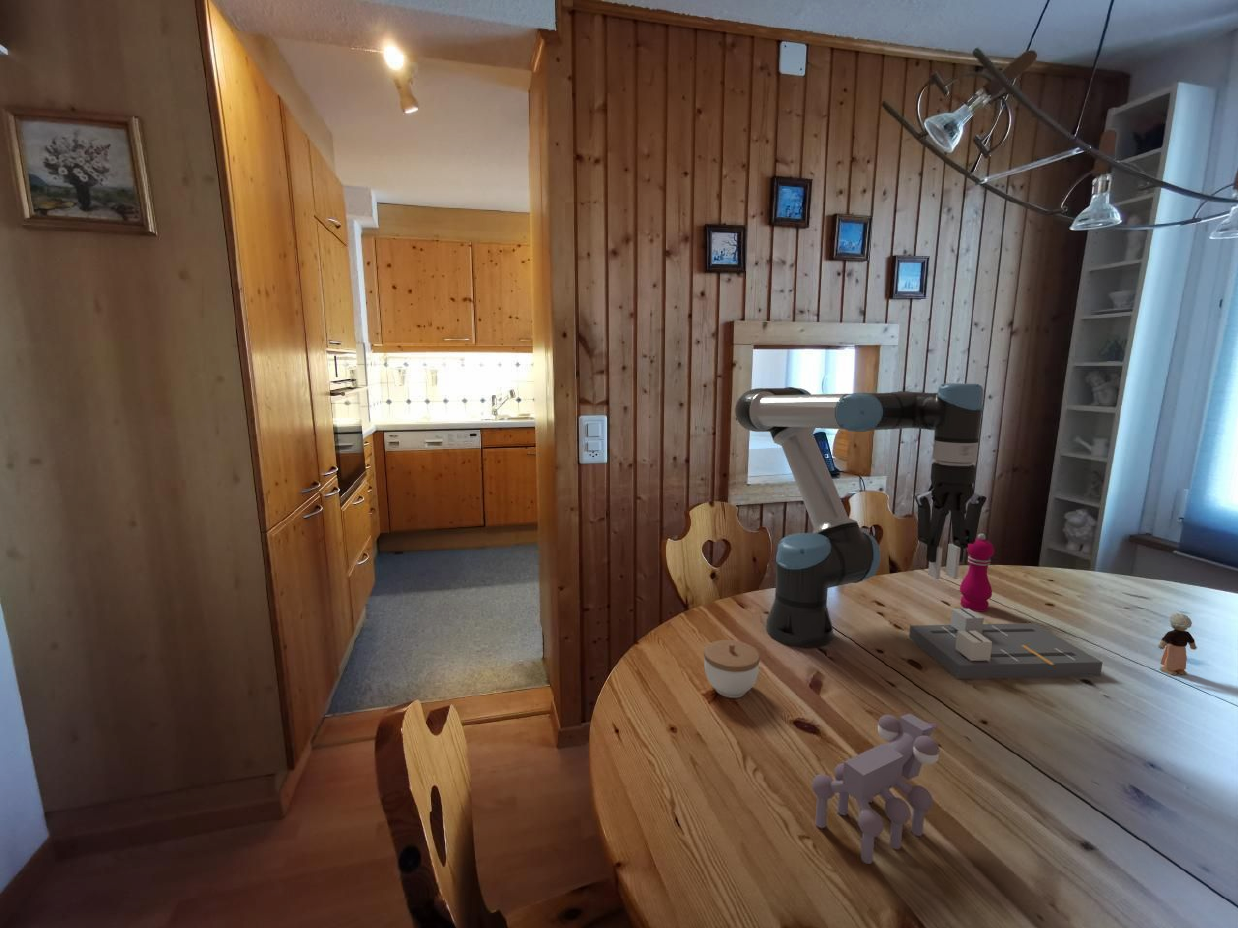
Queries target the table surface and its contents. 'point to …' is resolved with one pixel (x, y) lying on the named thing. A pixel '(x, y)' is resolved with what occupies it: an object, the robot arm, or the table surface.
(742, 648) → the lidded jar
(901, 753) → the toy sheep
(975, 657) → the fader front
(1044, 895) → the table surface
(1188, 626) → the grandmother figurine
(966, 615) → the fader rear
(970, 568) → the pepper mill
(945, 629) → the console
